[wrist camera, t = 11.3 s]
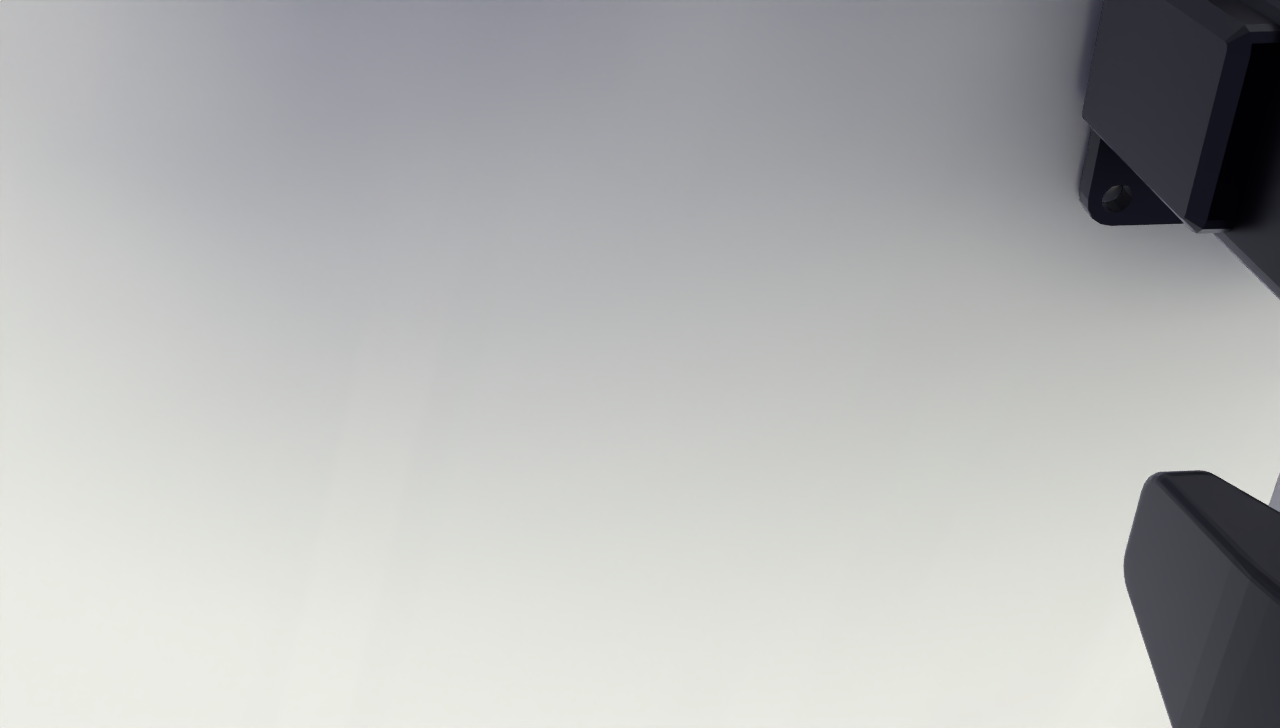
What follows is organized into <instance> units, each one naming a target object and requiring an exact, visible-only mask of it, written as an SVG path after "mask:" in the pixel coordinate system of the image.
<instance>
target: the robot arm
mask: <svg viewBox="0 0 1280 728" xmlns="http://www.w3.org/2000/svg"><path fill="white" fill-rule="evenodd" d="M1082 115H1083V118H1084V120H1085V121H1086V122H1087V123H1088V124H1089V126H1090V127H1091V128H1092V129H1091V134H1090V139H1089V144H1088V149H1087V154H1086V159H1085V164H1084V169H1083V174H1082V179H1081V184H1080V189H1079V197H1080V202H1081V204H1082V206H1083V207H1084V209H1085V210H1086V211H1087V213H1088V214H1089V215H1090V216H1091V217H1092V219H1094V220H1095V221H1097V222H1098V223H1100V224H1104V225H1110V226H1118V225H1150V224H1182V223H1184V224H1185V225H1186V226H1187V227H1188V228H1189V229H1190V230H1191V231H1193V232H1195V233H1213V234H1214V235H1215V236H1216V237H1217V238H1218V239H1219V240H1220V241H1221V242H1222V243H1223V244H1224V245H1225V246H1226V247H1227V248H1228V249H1229V250H1230V251H1231V252H1232V253H1233V254H1234V255H1235V256H1236V257H1237V258H1238V259H1239V260H1240V261H1241V262H1242V263H1243V264H1244V265H1245V266H1246V267H1247V268H1248V269H1249V270H1250V271H1251V272H1252V273H1253V274H1254V275H1255V276H1256V277H1257V278H1258V279H1259V280H1260V281H1261V282H1262V283H1263V284H1264V285H1265V286H1266V287H1267V288H1268V289H1269V290H1270V291H1271V292H1272V293H1273V294H1275V295H1276V296H1277V297H1278V298H1279V299H1280V0H1104V4H1103V9H1102V14H1101V19H1100V24H1099V29H1098V34H1097V40H1096V45H1095V50H1094V55H1093V60H1092V65H1091V71H1090V76H1089V81H1088V86H1087V91H1086V96H1085V101H1084V107H1083V113H1082ZM1120 184H1121V185H1123V190H1122V192H1121V194H1120V196H1118V197H1117V198H1116V199H1115V200H1113V201H1110V202H1106V203H1104V202H1102V198H1103V196H1104V194H1105V192H1106V191H1107V190H1109V189H1110V188H1111V187H1113V186H1116V185H1120ZM1124 578H1125V584H1126V587H1127V591H1128V594H1129V597H1130V600H1131V603H1132V606H1133V609H1134V612H1135V615H1136V618H1137V622H1138V625H1139V628H1140V631H1141V634H1142V637H1143V640H1144V643H1145V646H1146V649H1147V652H1148V655H1149V658H1150V661H1151V664H1152V667H1153V670H1154V673H1155V676H1156V680H1157V683H1158V686H1159V689H1160V692H1161V695H1162V698H1163V701H1164V704H1165V707H1166V710H1167V713H1168V716H1169V719H1170V722H1171V725H1172V728H1280V474H1279V477H1278V480H1277V483H1276V486H1275V489H1274V492H1273V495H1272V498H1271V500H1270V503H1269V506H1268V505H1266V504H1264V503H1263V502H1261V501H1259V500H1257V499H1256V498H1254V497H1252V496H1251V495H1249V494H1247V493H1245V492H1244V491H1242V490H1240V489H1238V488H1237V487H1235V486H1233V485H1231V484H1230V483H1228V482H1226V481H1224V480H1223V479H1221V478H1219V477H1218V476H1216V475H1214V474H1212V473H1210V472H1206V471H1200V470H1195V471H1170V472H1158V473H1155V474H1153V475H1151V476H1150V477H1149V478H1148V479H1147V481H1146V482H1145V483H1144V486H1143V489H1142V491H1141V495H1140V499H1139V502H1138V506H1137V510H1136V514H1135V517H1134V521H1133V525H1132V529H1131V532H1130V536H1129V540H1128V544H1127V547H1126V551H1125V556H1124Z"/></svg>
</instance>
